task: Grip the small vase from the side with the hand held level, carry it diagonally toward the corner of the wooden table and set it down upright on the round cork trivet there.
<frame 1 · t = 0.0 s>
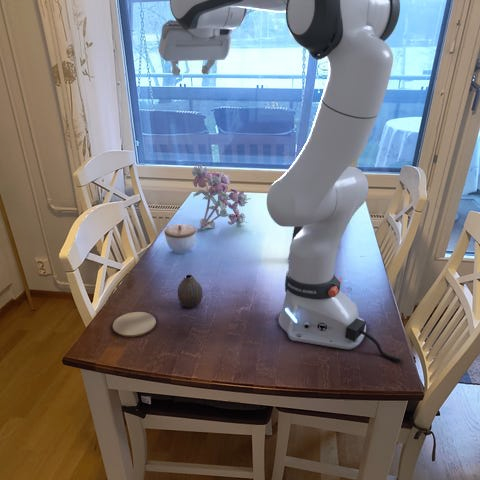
hand: (190, 74, 121), 54 cm above the table, tool tilted 30°, fingers open, 8 cm apart
trinket box: (181, 250, 151), on the table
vase: (190, 304, 119), on the table
cork trivet: (134, 324, 111), on the table
flower: (224, 226, 171), on the table
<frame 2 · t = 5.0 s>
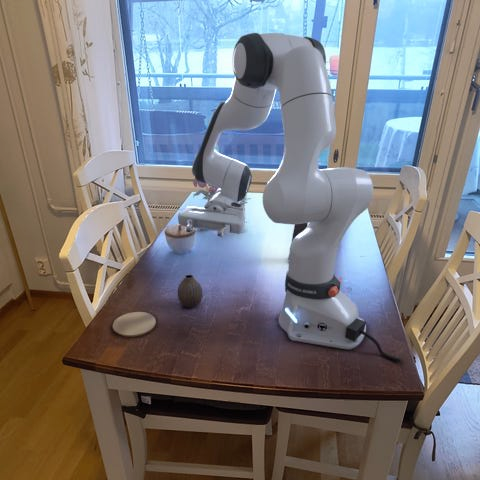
hand: (203, 232, 121), 16 cm above the table, tool horizontal, fingers open, 8 cm apart
nothing on the table moved.
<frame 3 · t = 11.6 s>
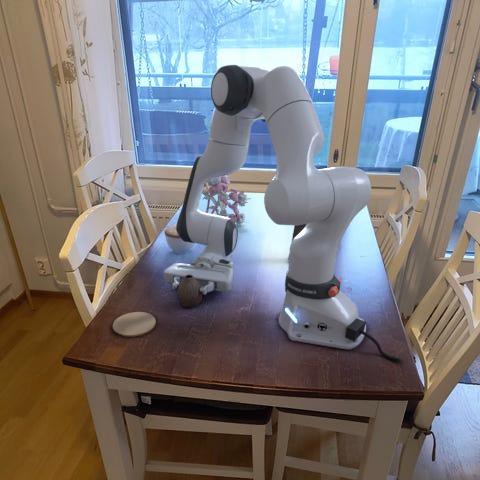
hand: (188, 290, 116), 5 cm above the table, tool horizontal, fingers closed on vase, 7 cm apart
vase: (190, 304, 119), on the table, touching gripper
everything else where it was.
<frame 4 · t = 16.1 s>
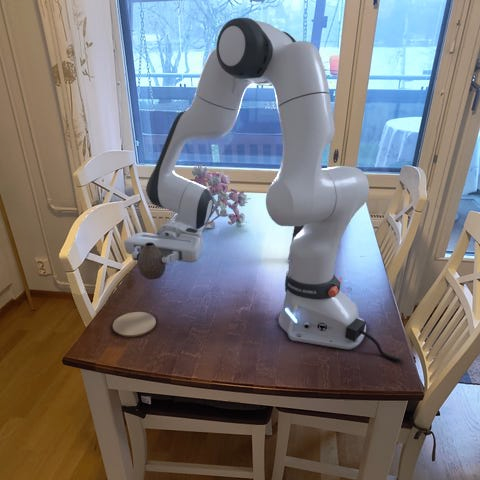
hand: (149, 259, 104), 17 cm above the table, tool horizontal, fingers closed on vase, 7 cm apart
vase: (153, 276, 108), point 12 cm above the table, touching gripper
everything else where it was.
when the fingers open (6 cm above the table, at t = 20.8 s): vase stays where it is, resting on cork trivet.
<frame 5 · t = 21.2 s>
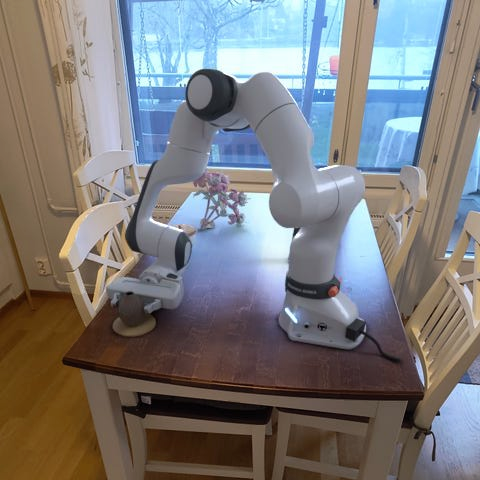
hand: (129, 307, 107), 6 cm above the table, tool horizontal, fingers open, 8 cm apart
vase: (134, 323, 111), resting on cork trivet
everything else where it was.
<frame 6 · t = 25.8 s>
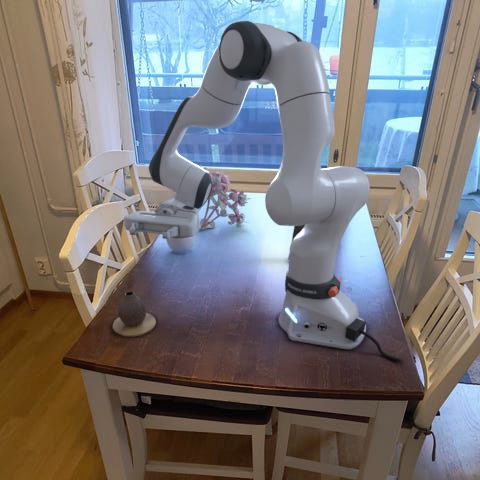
hand: (148, 234, 109), 20 cm above the table, tool horizontal, fingers open, 8 cm apart
nothing on the table moved.
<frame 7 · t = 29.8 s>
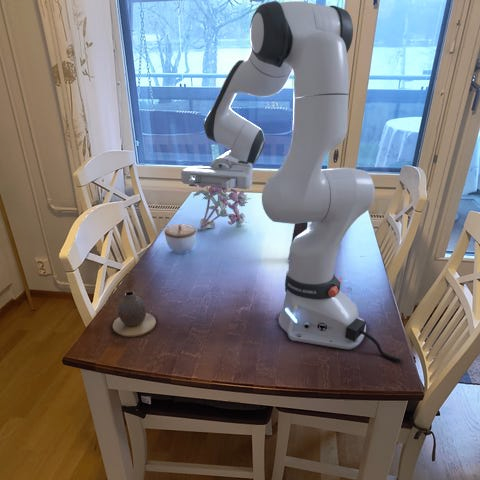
hand: (207, 184, 113), 30 cm above the table, tool horizontal, fingers open, 8 cm apart
nothing on the table moved.
at the end: vase 0.2 cm off-centre on the cork trivet, point 0.3 cm above the cork trivet's base; vase tilted 0°; the gripper is holding nothing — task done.
